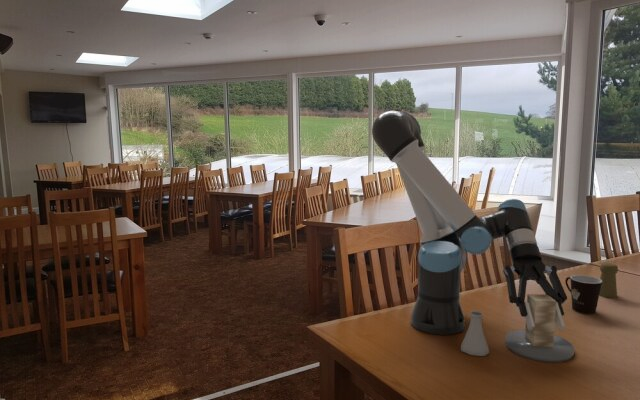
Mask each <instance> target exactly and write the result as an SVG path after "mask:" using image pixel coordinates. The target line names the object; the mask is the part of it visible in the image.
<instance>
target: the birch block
mask: <svg viewBox="0 0 640 400" xmlns="http://www.w3.org/2000/svg"><path fill="white" fill-rule="evenodd" d="M526 299H527V300H526V302H528V303H529V306H530V310H531V314H532V317H533V321H534V325H535V327H534V328H533V329H532V330H528V328H527V324H526V323H525V329H524V330H525V339H526V340H527V341H528V342H529V343H530V344H531V345H532V346H533V347H553V343H554V335H555V326H556V323H555V313H556V301H555V300H554V299H553V298H551V297H550V296H548V295H546V294H536V293H535V294H527V298H526Z"/></svg>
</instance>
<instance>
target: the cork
mask: <svg viewBox="0 0 640 400" xmlns="http://www.w3.org/2000/svg"><path fill="white" fill-rule="evenodd" d="M599 271H600V272H601V273H600V276H599V279H601V280H602V285H601V289H600V294H599V297H603V298H609V299H610V298H611V299H614V298H617V297H618V289H617V274H618V273H619V272H618V271H619V268H618V265H616V264H615V263H611V262H602V263H601V264H600V266H599Z"/></svg>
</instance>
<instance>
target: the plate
mask: <svg viewBox="0 0 640 400" xmlns="http://www.w3.org/2000/svg"><path fill="white" fill-rule="evenodd" d="M525 330H526V329H519V330H514V331H513V330H512V331H511V332H508V333H507V334H506V336H505V340H504V341H505V343H504V344H505V345H506V347H507V348H508V349H509V350H510V351H511V352H513V353H515V354H516V355H518V356H521V357H524V358H527V359H529V360H533V361H539V362H546V363H561V362H566V361H567V362H568V361H569V360H571V359H573V357H574V354H575V347H574V345H573V344H572V343H571V342H570V341H568V340H567V339H565V338H563V337H561V336H558V335H555V334H554V343H553V347H533V346H532V345H531V344H530V343H529V342H528V341H527V340H526V339H525Z"/></svg>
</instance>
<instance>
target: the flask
mask: <svg viewBox="0 0 640 400" xmlns="http://www.w3.org/2000/svg"><path fill="white" fill-rule="evenodd" d="M469 315H470V321H469V325H468V329H467V330H466V334H465V336H464V338H463V340H462V342H461V344H460V351H461V352H463V353H465V354H468V355H470V356H477V357H485V356H486V355H488V354H490V349H489V346H488V341H487V339H486V337H485V333H484V330H483V324H482V321H483V318H482V317H483V316H484V313H483V311H478V310H471V311H469Z"/></svg>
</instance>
